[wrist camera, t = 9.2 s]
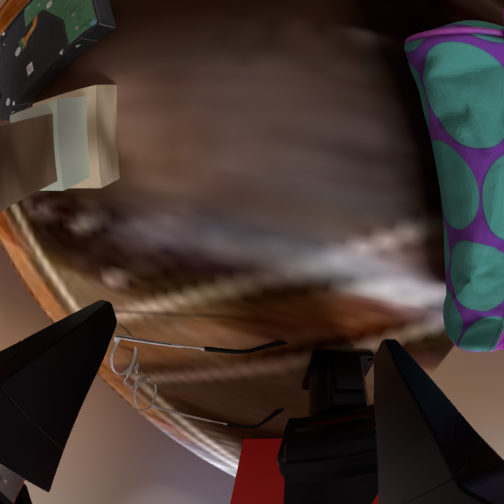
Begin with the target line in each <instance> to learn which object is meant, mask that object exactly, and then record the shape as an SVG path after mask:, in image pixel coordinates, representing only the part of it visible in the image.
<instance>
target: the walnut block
mask: <svg viewBox="0 0 504 504" xmlns="http://www.w3.org/2000/svg"><path fill="white" fill-rule="evenodd" d="M57 181H58V179H57V171H56V162H55V150H54V134H53V113H52V114H47V115H42V116H38V117H33V118H29V119H25V120H21V121H17V122H13V123H10V124H6V125H3V126H0V212H1V211H3V210H5V209H6V208H8V207H10V206H12V205H13V204H15V203H17V202H19V201H20V200H22V199H24V198H26V197H28V196H29V195H31V194H33V193H35V192H37V191H39V190H41V189H43V188H45V187H47V186H49V185H51V184H53V183H55V182H57Z"/></svg>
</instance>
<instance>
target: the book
mask: <svg viewBox="0 0 504 504" xmlns="http://www.w3.org/2000/svg"><path fill="white" fill-rule="evenodd" d="M282 439H283V438H279V439H244V440H243V445H242V450H241V455H240V460H239V465H238V470H237V474H236V479H235V484H234V489H233V493H232V498H231V502H230V504H284V502H283V498H284V478H283V477H282V476H281V473H280V470H279V465H278V464H277V458H278V452H279V449H280V445H281V442H282ZM372 504H378V495H377V497H376V498H375V500H374V501H373V503H372Z"/></svg>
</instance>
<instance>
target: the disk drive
mask: <svg viewBox="0 0 504 504" xmlns="http://www.w3.org/2000/svg"><path fill="white" fill-rule="evenodd" d="M115 28H116V23H115V19H114V16H113V13H112V9H111V6H110V2H109V0H30V1H29V2H28V4H26V6H25V7H24V8H23V9H22V10H21V11H20V13H19V14H18V15H17V16H16V17H15V18H14V20H13V21H12V22H11V23H10V25H9V26H8V27H7V28H6V30H5V31H4V32H3V34H2V35H1V36H0V95H2V97H1V99H0V115H1V120H2V121H4V120H9V119H10V115H12V114H15V113H18V112H20V111H23V110H24V109H25V108H26V107H27V106H28V105H29V103H30V102H31V101H32V100H33V99H34V98H35V96H36V95H37V94H38V93H39V92H40V91H41V90H42V89H43V88H44V87H45V86H46V85H47V84H48V83H49V82H50V81H51V80H52V79H53V78H54V77H55V76H56V75H58V74H59V73H60V72H61V71H62V70H63V69H64V68H65V67H66V66H68V65H69V64H70V63H71V62H72V61H73V60H74V59H76V58H77V57H78V56H79V55H80V54H82V53H83V52H84V51H86V50H87V49H89V48H90V47H92V46H93V45H94V44H95V43H97V42H98V41H99V40H100V39H101V38H103V37H104V36H106V35H107V34H109V33H110V32H111V31H113V30H114V29H115Z"/></svg>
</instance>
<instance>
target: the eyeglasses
mask: <svg viewBox="0 0 504 504" xmlns="http://www.w3.org/2000/svg"><path fill="white" fill-rule="evenodd" d="M121 339H123V340H129V341H136V342H142V343H149V344H156V345H163V346H171V347H180V348H182V347H186V348H195V349H200V350H203V351H208V352H220V353H231V354H244V353H251V352H255V351H259V350H262V349H266V348H271V347H275V346H280V345H284V344H287V342H283V341H275V342H271V343H268V344H264V345H261V346H258V347H255V348H252V349H246V350H233V349H224V348H215V347H192V346H183V345H181V344H173V343H166V342H159V341H152V340H145V339H139V338H133V337H131V336H129V335H124V336H121V335H116V334H115V336H114V341H115V344H114V346H113V349H112V351H111V356H110V364H111V368H112V370H113V371H114V372H115V373H116V374H118V375H123V374H125V373H126V375H125V376H126V378H125V380H126V379H127V378H128V375H129V374H130V373H131V370H132V368H133V366H134V364H135V361H136V357H137V349H136V347H134V355H133V359H132V362H131V364H130V366H129V367H128V369H127V370H126V371H124V372H123V373H117V372H116V371H115V370H114V367H113V353H114V350H115V348H116V346H117V344H118V343H119V341H120V340H121ZM138 368H139V363H136V366H134V371H135V373H137V372H138ZM145 376H146V377H145ZM147 376H150V375H142V376H141V377H140V378H138V380H137V381H136V382H134V383H133V384H134V385H133V386H130V385H128V384H127V383H126V382H125V380H124V384H125V385H127V386H129V387H131V388H135V390H134V402H135V404H136V406H137V407H138V408H139V409H141V408H140V407H139V406H138V405H137V402H136V391H137V388H138V385H140V383H142V384H145V382H146V380H147V378H151V377H147ZM151 379H152V378H151ZM142 384H141V385H142ZM135 386H136V387H135ZM154 386H155V395H154V399H153V401H152V402H151V404H150V406H149V407H147V408H145V409H141V410H147V409H149V408H150V407H151V406H153V407H154V408H156V409H160V410H163V411H167V412H170V413H174V414H178V415H182V416H186V417H190V418H194V419H199V420H203V421H208V422H215V423H220V424H224V425H226V426H231V427H238V428H256V427H259V426H261V425H262V424H264V423H266V422H267V421H269V420H270V419H272V418H273V417H275V416H276V415H278V414H279V413H280V412H282V411H283V410H284V408H282V409H277V410H275V411H274V412H273V413H272V414H271V415H269V416H268V417H267V418H266V419H264V420H263V421H262V422H260V423H259V424H257V425H253V426H245V425H237V424H231V423H221V422H216V421H211V420H209V419H204V418H200V417H196V416H192V415H188V414H184V413H180V412H176V411H173V410H169V409H165V408H162V407H159V406H157V405H156V404H154V401H155V399H156V394H157V387H156V384H155V385H154Z"/></svg>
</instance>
